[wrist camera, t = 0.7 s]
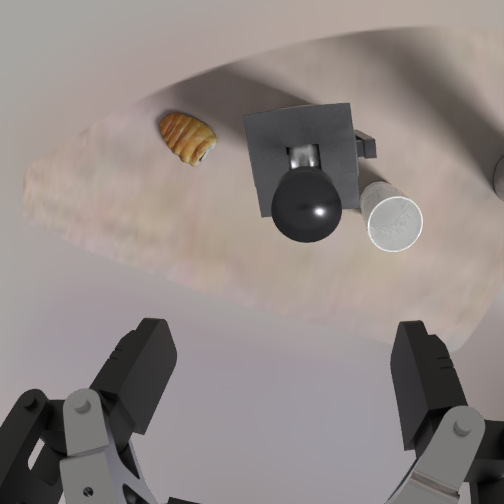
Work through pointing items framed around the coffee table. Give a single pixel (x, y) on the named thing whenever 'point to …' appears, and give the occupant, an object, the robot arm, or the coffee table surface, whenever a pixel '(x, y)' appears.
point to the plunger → (306, 198)
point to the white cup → (390, 217)
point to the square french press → (304, 133)
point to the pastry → (187, 137)
